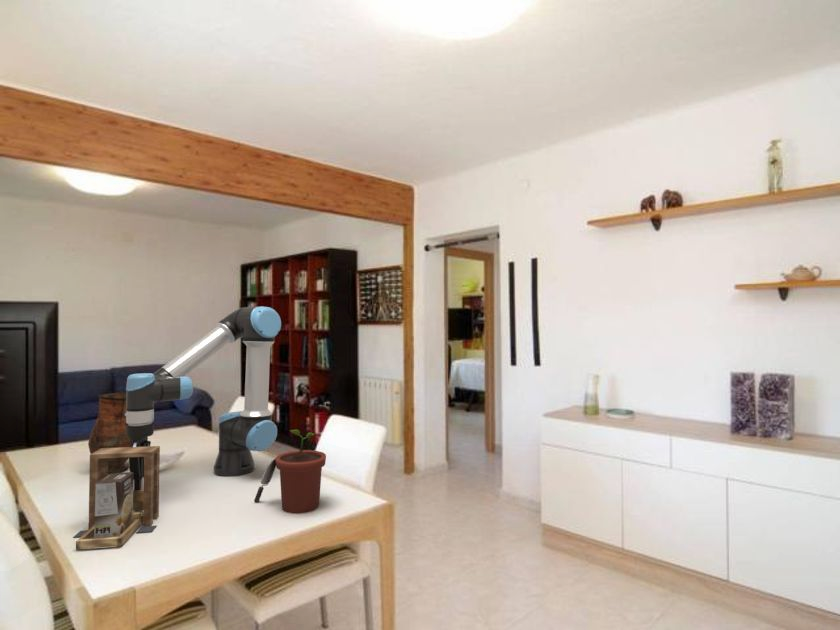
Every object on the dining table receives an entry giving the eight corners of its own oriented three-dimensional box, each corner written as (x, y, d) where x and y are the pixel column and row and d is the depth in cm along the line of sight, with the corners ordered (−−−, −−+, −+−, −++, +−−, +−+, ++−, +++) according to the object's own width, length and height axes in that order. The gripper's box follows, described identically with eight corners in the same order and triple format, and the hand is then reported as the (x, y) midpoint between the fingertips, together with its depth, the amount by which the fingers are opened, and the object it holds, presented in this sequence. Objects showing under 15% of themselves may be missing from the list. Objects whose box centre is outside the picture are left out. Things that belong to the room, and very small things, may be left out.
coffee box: (120, 542, 129) (121, 481, 129) (93, 544, 128) (94, 483, 128) (133, 528, 138) (134, 471, 138) (108, 530, 137) (109, 472, 137)
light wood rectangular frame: (155, 508, 151) (155, 489, 152) (121, 545, 126) (121, 522, 126) (118, 510, 149) (118, 491, 149) (75, 549, 124) (76, 525, 124)
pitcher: (97, 480, 180) (99, 398, 180) (77, 469, 193) (78, 393, 193) (145, 469, 193) (146, 393, 193) (123, 460, 206) (124, 389, 206)
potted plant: (284, 522, 143) (285, 437, 143) (253, 502, 159) (254, 425, 159) (336, 507, 155) (336, 428, 155) (302, 489, 171) (302, 418, 171)
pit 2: (156, 526, 139) (156, 525, 139) (151, 532, 135) (151, 531, 135) (141, 527, 138) (141, 526, 138) (136, 533, 134) (136, 532, 134)
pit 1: (96, 530, 136) (96, 529, 136) (89, 536, 132) (89, 535, 132) (80, 531, 135) (80, 530, 135) (73, 538, 131) (73, 536, 131)
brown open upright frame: (158, 516, 146) (159, 446, 147) (150, 526, 139) (151, 452, 140) (99, 520, 143) (101, 448, 143) (88, 530, 136) (89, 454, 137)
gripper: (134, 419, 158) (133, 492, 157) (118, 428, 145) (117, 507, 144) (159, 418, 159) (158, 491, 159) (145, 427, 146) (144, 506, 146)
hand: (138, 499), depth 152 cm, fingers closed
